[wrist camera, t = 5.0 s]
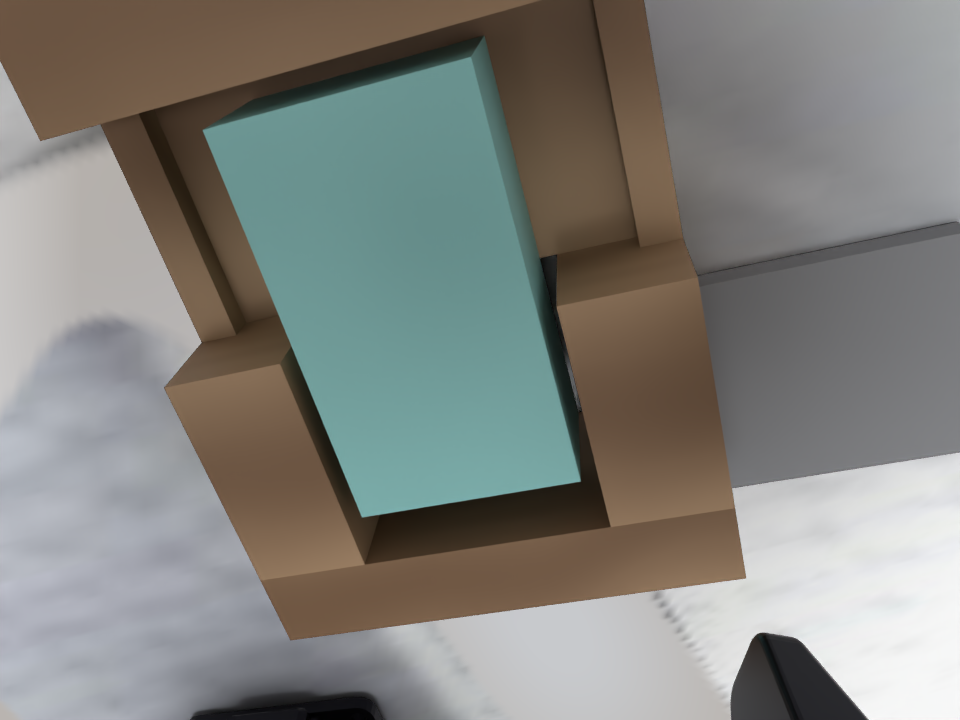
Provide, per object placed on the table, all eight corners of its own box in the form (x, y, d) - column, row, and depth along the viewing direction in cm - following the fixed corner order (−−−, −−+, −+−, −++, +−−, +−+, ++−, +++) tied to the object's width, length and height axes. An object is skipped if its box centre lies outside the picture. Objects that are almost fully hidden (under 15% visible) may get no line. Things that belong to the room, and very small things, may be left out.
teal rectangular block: (578, 413, 18) (580, 481, 16) (384, 448, 19) (362, 517, 17) (484, 35, 15) (470, 57, 13) (252, 99, 16) (202, 130, 13)
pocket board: (710, 451, 21) (746, 578, 17) (337, 514, 23) (290, 640, 19) (600, -198, 15) (614, -238, 11) (102, -37, 17) (-41, -20, 13)
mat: (959, 436, 20) (970, 451, 19) (725, 474, 21) (729, 488, 21) (957, 221, 18) (969, 231, 17) (693, 276, 19) (696, 287, 18)
